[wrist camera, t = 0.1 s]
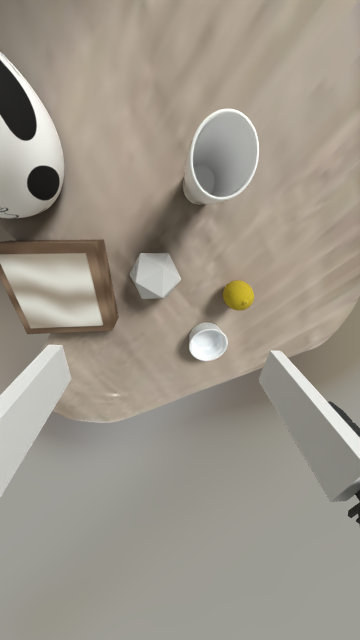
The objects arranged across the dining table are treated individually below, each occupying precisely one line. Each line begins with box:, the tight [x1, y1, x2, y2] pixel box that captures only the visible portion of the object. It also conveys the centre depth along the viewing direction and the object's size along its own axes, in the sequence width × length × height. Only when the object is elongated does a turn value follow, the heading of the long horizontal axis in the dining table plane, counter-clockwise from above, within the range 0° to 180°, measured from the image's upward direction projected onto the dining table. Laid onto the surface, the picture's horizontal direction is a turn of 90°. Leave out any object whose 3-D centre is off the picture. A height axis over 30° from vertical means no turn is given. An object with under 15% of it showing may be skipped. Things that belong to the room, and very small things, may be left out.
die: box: [129, 253, 181, 299], centre depth 33 cm, size 8×9×10 cm
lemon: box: [223, 280, 254, 310], centre depth 36 cm, size 6×6×8 cm
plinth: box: [0, 240, 119, 334], centre depth 33 cm, size 16×16×6 cm
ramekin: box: [189, 322, 228, 361], centre depth 43 cm, size 9×9×4 cm
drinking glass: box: [183, 109, 259, 205], centre depth 23 cm, size 7×7×15 cm
